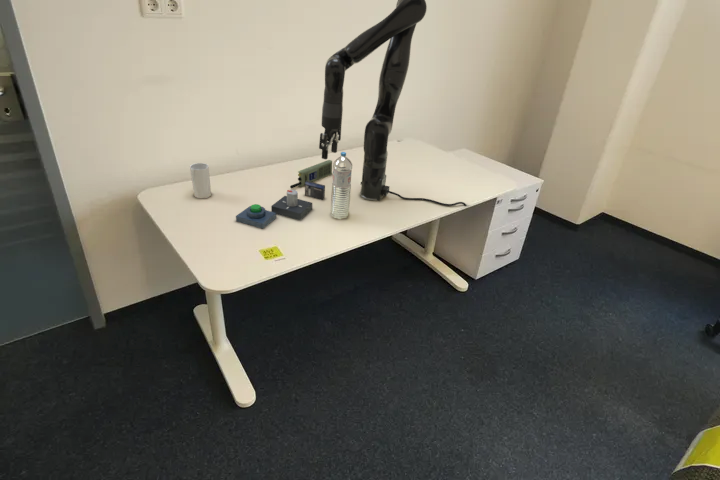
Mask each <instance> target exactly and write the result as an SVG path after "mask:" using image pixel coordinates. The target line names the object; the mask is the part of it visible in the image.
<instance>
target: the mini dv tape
mask: <svg viewBox="0 0 720 480" xmlns="http://www.w3.org/2000/svg"><path fill="white" fill-rule="evenodd" d="M304 196H305V197H308V198H312V199H316V200H320V201H324V200H325V198H326V185H325V184H322V183H317V182H310V181H306V182H305V186H304Z"/></svg>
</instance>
